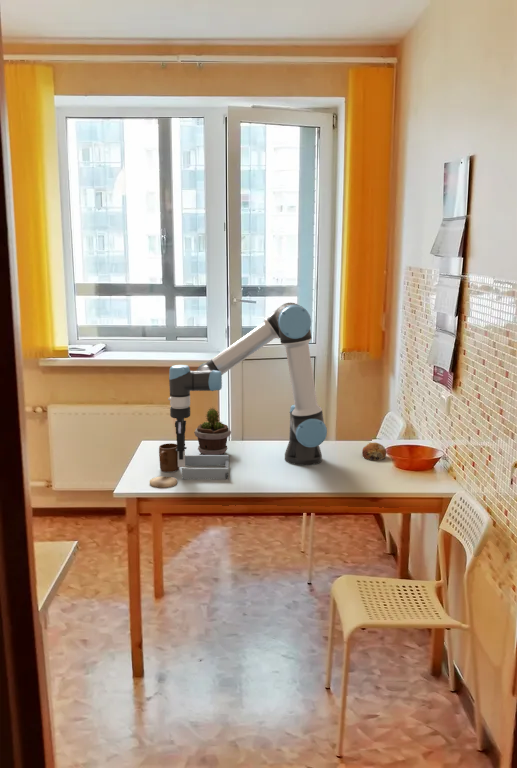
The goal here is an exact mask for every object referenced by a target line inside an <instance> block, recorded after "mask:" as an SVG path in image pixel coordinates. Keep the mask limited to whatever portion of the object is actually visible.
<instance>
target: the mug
mask: <svg viewBox="0 0 517 768" xmlns="http://www.w3.org/2000/svg"><path fill="white" fill-rule="evenodd" d="M176 449H177V443H171V442H170V443H164V444H161V445H159V446H158V455H159V457H158V458H159V468H160V469H159V470H160V471H161V472H163V473H173V472H174V473H175V472H177V471H179V470H180V468H181V467H178V453H177V451H176Z"/></svg>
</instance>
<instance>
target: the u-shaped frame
mask: <svg viewBox="0 0 517 768" xmlns="http://www.w3.org/2000/svg"><path fill="white" fill-rule="evenodd" d="M229 457H230V455H228V454H224V455H201V454H185V467H181V480H229V470H230V469H229V464H230V463H229V462H230V461H229V460H230V459H229ZM187 466H189V467H187ZM194 466H197V467H194ZM198 466H200V467H198ZM201 466H203V467H201ZM204 466H205V467H204ZM207 466H208V467H207ZM210 466H212V467H210ZM215 466H217V467H215ZM218 466H219V467H218ZM221 466H222V467H221Z"/></svg>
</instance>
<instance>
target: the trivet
mask: <svg viewBox="0 0 517 768" xmlns="http://www.w3.org/2000/svg"><path fill="white" fill-rule="evenodd" d="M177 484H178V479H177V478H176V477H173V476H165V475H163V476H155V477H153V478H151V479H150V480H149V485H150V486H151V487H154V488H157V489H167V488H172V487H174V486H177Z"/></svg>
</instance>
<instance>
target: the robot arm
mask: <svg viewBox="0 0 517 768" xmlns="http://www.w3.org/2000/svg"><path fill="white" fill-rule="evenodd" d="M311 327H312V319H311V315H310V313H309V312H308V310H307V309H306V308H305V307H303V306H302V305H299V304H298V303H296V302H285V303H283V304H282V305H280V306H279V307H277V309H275V310H274V311H273V312H271V313H270V314H269V315H268V316H266V317H265V318H264V321H263V322H262V323H261V324H259V325H258V326H256V327H255V328H254V329H252V330H251V331H249V332H248V333H247V334H245V335H243V336H242V337H241V338H239V339H238V340H237V341H235V342H233V344H231V345H230V346H228V347H227V348H225V349H224V350H222V351H221V352H219V353H218V354H217V355H215V356H214V357H213V358H211V359H210V360H208V361H207V362H204V363H202V364H200V365H199V366H198V367H197V369H196V370H191V368H190V366H189V365H187V364H175V365H171V366H170V368H169V372H168V373H169V374H168V375H169V376H168V377H169V378H168V380H169V381H168V382H169V383H168V384H169V385H168V386H169V397H168V398H167V400H168V401H169V406H170V407H169V416H170V417H171V418H172V419H176V420H175V422H174V427H175V434H176V444H177V449H176V451H177V453H178V467H180V468H186V466H185V455H186V450H187V446H186V439H185V438H186V427H187V420H185V419H188V418H190V417H191V407H190V406H191V392H196V391H199V392H201V391H202V392H207V391H208V392H215V391H221V390H222V387H223V385H222V384H223V380H222V379H223V378H222V377H223V375H224V374H225V373H227V372H229V371H230V370H231V369H233V368H234V367H236V366H238V365H239V364H240V363H242V362H243V361H244V360H246V359H247V358H249V357H250V356H252V355H254V353H256V352H257V351H259V350H260V349H261V348H263V347H265V346H266V345H268V344H269V343H270V342H272V341H273V340H274V339H275V340H276V339H279V341H280V344H281V345H282V346H284V347H285V351H286V357H287V365H288V371H289V376H290V377H289V380H290V386H291V391H292V396H293V397H292V398H293V402H294V404H292V405H291V406H290V409H289V440H288V444H287V447H286V449H285V451H284V460H285V462H287V463H289V464H292V465H298V466H311V465H317V464H320V463H321V462H322V461H323V455H322V451H321V448H320V447H321V446H320V445H322V444H323V443H324V442H325V440H326V438H327V435H328V429H327V425H326V424H325V421H324V415H323V414H324V413H323V408H322V407H321V406H319V404H318V400H317V392H316V386H315V381H314V379H315V378H314V374H313V365H312V360H311V358H312V357H311V353H310V346H309V343H310V342H311V340H312V332H311Z"/></svg>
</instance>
